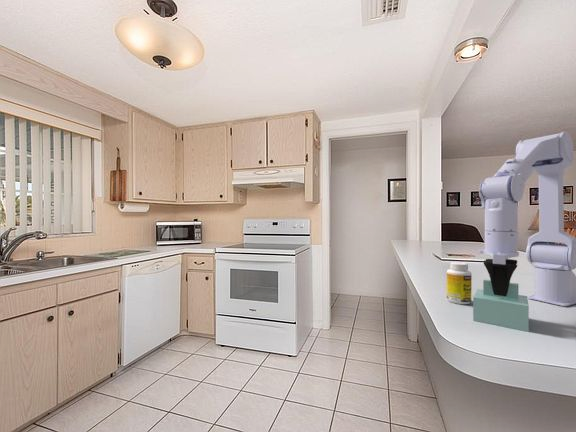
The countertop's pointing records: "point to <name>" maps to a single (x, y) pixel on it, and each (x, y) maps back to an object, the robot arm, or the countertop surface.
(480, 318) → the two-tier mint step
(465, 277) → the supplement bottle
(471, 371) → the countertop surface
